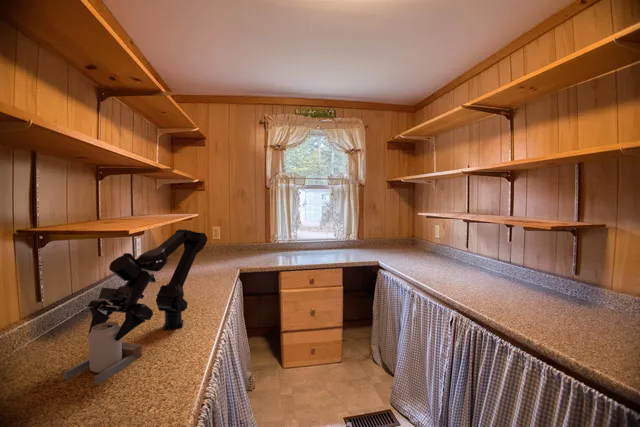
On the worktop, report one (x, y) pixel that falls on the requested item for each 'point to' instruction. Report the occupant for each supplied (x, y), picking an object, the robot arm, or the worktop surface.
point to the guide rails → (101, 376)
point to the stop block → (131, 350)
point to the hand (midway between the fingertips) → (102, 338)
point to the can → (104, 346)
